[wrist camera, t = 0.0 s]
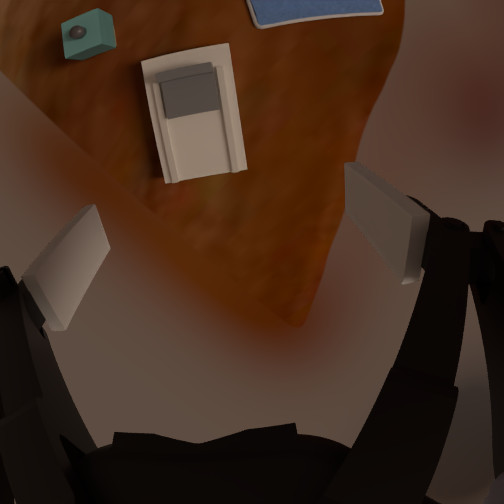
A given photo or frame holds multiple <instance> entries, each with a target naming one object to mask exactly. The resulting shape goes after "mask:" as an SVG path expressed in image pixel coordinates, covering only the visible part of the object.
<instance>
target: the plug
mask: <svg viewBox="0 0 504 504" xmlns="http://www.w3.org/2000/svg"><path fill="white" fill-rule="evenodd" d="M61 26H62V37H63V46H64V54H65V59H76V60H84V59H87V58H89V57H92V56H94V55H97V54H100V53H103V52H105V51H108V50H111V49H114V48H116V46H117V45H116V38H115V30H114V27H113V19H112V15H110V14H108V13H106V12H104V11H102V10H100V9H98V8H97V9H94V10H92V11H89V12H87V13H84V14H82V15H80V16H77V17H75V18H73V19H71V20H69V21H66V22H64V23H62V24H61Z"/></svg>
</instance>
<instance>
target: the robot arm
mask: <svg viewBox="0 0 504 504" xmlns="http://www.w3.org/2000/svg"><path fill="white" fill-rule="evenodd" d="M345 212H346V214H347V215H348V216H349V217H350V218H351V220H352V221H353V222H354V223H355V224H356V226H357V227H358V228H359V229H360V231H361V232H362V233H363V234H364V236H365V237H366V238H367V239H368V241H369V242H370V243H371V244H372V246H373V247H374V248H375V249H376V251H377V252H378V253H379V255H380V256H381V257H382V259H383V260H384V261H385V262H386V264H387V265H388V266H389V268H390V269H391V270H392V272H393V273H394V274H395V276H396V277H397V279H398V280H399V281H400V282H401V284H402V285H403V284H407V283H412V282H416V281H419V277H420V272H421V267H422V268H423V269H424V270H425V273H424V277H423V281H422V284H421V288H420V291H419V294H418V297H417V301H416V304H415V307H414V310H413V313H412V317H411V319H410V322H409V325H408V328H407V331H406V334H405V336H404V339H403V342H402V345H401V347H400V350H399V353H398V355H397V358H396V360H395V362H394V365H393V367H392V368H391V369H390V371H389V373H388V376H387V378H386V380H385V382H384V385H383V387H382V389H381V391H380V393H379V396H378V398H377V400H376V402H375V404H374V406H373V408H372V410H371V412H370V414H369V416H368V418H367V420H366V422H365V424H364V426H363V428H362V430H361V432H360V433H359V435H358V437H357V439H356V441H355V443H354V444H353V446H352V448H349V447H347V446H345V445H343V444H341V443H339V442H336V441H333V440H330V439H327V438H323V437H319V436H312V435H303V434H297V429H296V424H295V423H290V424H284V425H278V426H271V427H263V428H255V429H247V430H244V431H241V432H238V433H235V434H232V435H229V436H225V437H222V438H219V439H215V440H212V441H208V442H204V443H200V444H199V443H198V444H197V443H190V442H186V441H181V440H176V439H172V438H168V437H164V436H160V435H156V434H148V433H147V434H145V433H123V432H114V437H113V442H112V444H110V445H106V446H103V447H100V448H97V446H96V445H95V443H94V441H93V439H92V437H91V435H90V434H89V432H88V430H87V428H86V426H85V424H84V422H83V420H82V418H81V416H80V414H79V412H78V410H77V408H76V406H75V404H74V402H73V400H72V397H71V395H70V393H69V391H68V388H67V386H66V384H65V381H64V379H63V377H62V374H61V372H60V369H59V367H58V364H57V362H56V359H55V356H54V354H53V351H52V348H51V345H50V342H49V339H48V336H47V333H46V332H45V330H44V329H43V327H42V325H43V324H44V322H45V320H46V322H47V323H48V325H49V327H50V328H51V330H52V331H65V330H66V329H67V327H68V325H69V323H70V321H71V319H72V317H73V314H74V313H75V311H76V309H77V307H78V305H79V303H80V301H81V299H82V297H83V296H84V294H85V292H86V290H87V288H88V286H89V285H90V283H91V281H92V279H93V277H94V276H95V274H96V272H97V270H98V269H99V267H100V265H101V263H102V262H103V260H104V258H105V257H106V255H107V253H108V252H109V250H110V245H109V243H108V240H107V237H106V234H105V232H104V229H103V226H102V223H101V220H100V217H99V214H98V211H97V208H96V205H95V204H92V205H88V206H85V207H83V208H82V209H81V210H80V211H79V212H78V213H77V214H76V215H75V216H74V217H73V218H72V219H71V220H70V221H69V222H68V223H67V224H66V225H65V227H64V228H63V229H62V230H61V231H60V232H59V233H58V234H57V235H56V236H55V237H54V238H53V240H52V241H51V242H50V243H49V244H48V245H47V246H46V248H45V249H44V250H43V251H42V252H41V253H40V254H39V256H38V257H37V258H36V259H35V260H34V261H33V263H32V264H31V265H30V266H29V268H28V269H27V270H26V271H25V272H24V274H23V275H22V276H21V277H22V280H21V281H20V282H19V283H18V284H17V282H16V281H15V279H14V277H13V275H12V273H11V271H10V269H9V267H8V266H4V267H1V268H0V504H14V498H15V501H16V504H441V503H439V502H437V501H435V500H433V499H431V498H430V497H428V496H426V495H425V494H426V492H427V490H428V487H429V485H430V483H431V480H432V478H433V475H434V473H435V470H436V467H437V465H438V462H439V459H440V456H441V454H442V450H443V448H444V445H445V441H446V438H447V435H448V432H449V428H450V425H451V422H452V418H453V414H454V411H455V407H456V402H457V398H458V392H459V391H458V387H456V386H454V382H455V376H456V372H457V367H458V362H459V357H460V351H461V345H462V339H463V332H464V325H465V317H466V307H467V297H468V284H470V288H471V291H472V295H473V299H474V303H475V307H476V311H477V315H478V320H479V325H480V330H481V334H482V340H483V345H484V351H485V358H486V364H487V372H488V380H489V389H490V400H491V414H492V448H493V466H494V474H495V480H494V482H493V484H492V486H491V487H490V490H489V494H488V496H487V497H486V498H485V500H484V504H504V222H501V221H495V220H488V221H486V222H485V223H484V228H483V232H470V229H469V227H468V225H467V224H465V223H464V222H462V221H461V220H458V219H455V218H449V217H445V218H440V217H439V216H438V215H437V214H435V213H434V212H433V211H432V210H430V209H428V207H426V206H425V205H423V204H422V203H421V202H420V201H418V200H417V199H415V198H413V197H410V196H408V195H405V194H403V193H402V192H401V191H399V190H398V189H397V188H395V187H394V186H393V185H391V184H390V183H388V182H387V181H386V180H384V179H383V178H381V177H380V176H378V175H377V174H375V173H374V172H373V171H371V170H370V169H368V168H367V167H365V166H364V165H362V164H361V163H359V162H349V163H345Z"/></svg>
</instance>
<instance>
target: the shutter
mask: <svg viewBox="0 0 504 504" xmlns="http://www.w3.org/2000/svg"><path fill="white" fill-rule="evenodd" d="M155 75H156V81H157V83H161V85H162V91H163V96H164V102H165V107H166V113H167V118H168V119H173V118H177V117H182V116H187V115H192V114H197V113H203V112H208V111H214V110H219V102H218V96H217V90H216V83H215V77H214V71H213V64H212V63H211V62H206V63H201V64H195V65H190V66H185V67H181V68H176V69H172V70H167V71H163V72H159V73H155Z"/></svg>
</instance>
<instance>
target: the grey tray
mask: <svg viewBox="0 0 504 504" xmlns="http://www.w3.org/2000/svg"><path fill="white" fill-rule="evenodd" d="M206 62H211V63H212V64H213V71H214V77H215V83H216V90H217V96H218V102H219V110H214V111H208V112H203V113H197V114H192V115H187V116H182V117H177V118H173V119H168V118H167V113H166V107H165V102H164V96H163V91H162V85H161V83H157V81H156V75H155V73H159V72H163V71H167V70H172V69H176V68H181V67H185V66H190V65H195V64H201V63H206ZM141 64H142V70H143V76H144V81H145V87H146V93H147V98H148V103H149V109H150V114H151V119H152V124H153V129H154V134H155V138H156V143H157V148H158V152H159V157H160V161H161V166H162V170H163V174H164V179H165V183H171V182H173V183H176V182H179V181H181V180H187V179H192V178H198V177H203V176H209V175H215V174H221V173H227V172H233V173H234V172H239V171H240V170H247V164H246V158H245V151H244V144H243V137H242V130H241V123H240V116H239V110H238V103H237V96H236V89H235V83H234V76H233V69H232V63H231V56H230V49H229V43H225V44H219V45H212V46H207V47H201V48H196V49H191V50H186V51H181V52H176V53H172V54H168V55H164V56H160V57H156V58H152V59H148V60H144V61H141Z"/></svg>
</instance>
